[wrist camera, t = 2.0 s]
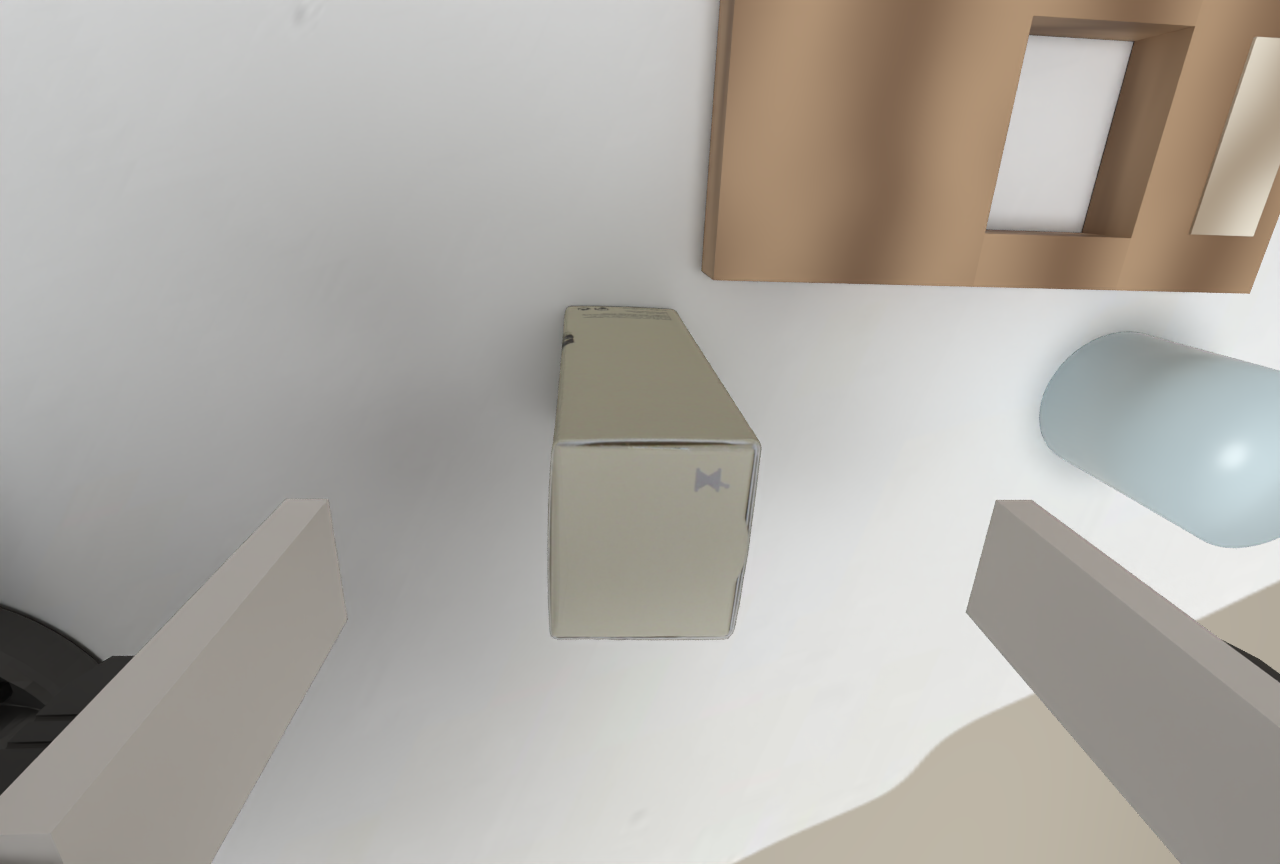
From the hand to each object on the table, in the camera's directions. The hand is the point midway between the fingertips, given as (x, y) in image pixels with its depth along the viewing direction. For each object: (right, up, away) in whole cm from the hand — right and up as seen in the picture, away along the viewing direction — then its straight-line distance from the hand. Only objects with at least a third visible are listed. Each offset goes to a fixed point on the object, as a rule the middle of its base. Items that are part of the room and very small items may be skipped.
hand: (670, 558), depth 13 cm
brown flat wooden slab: (+12, +13, +10) cm, 20 cm away
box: (-1, +5, +13) cm, 14 cm away
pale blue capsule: (+19, +4, +15) cm, 25 cm away
